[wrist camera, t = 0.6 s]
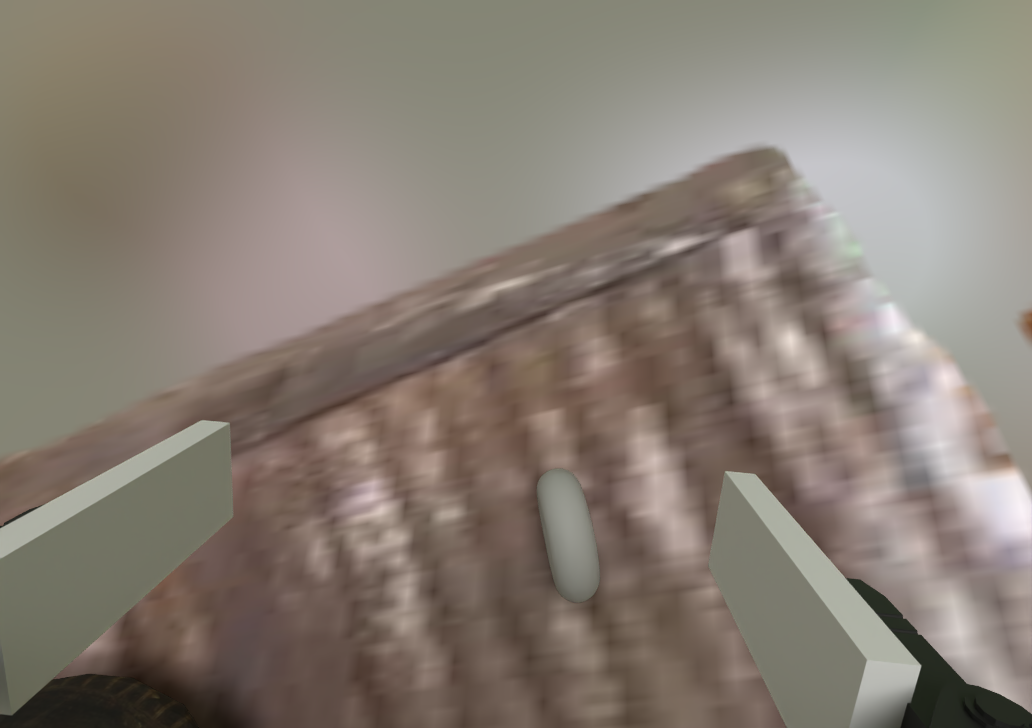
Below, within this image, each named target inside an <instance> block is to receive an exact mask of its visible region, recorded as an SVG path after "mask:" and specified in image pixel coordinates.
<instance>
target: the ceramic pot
mask: <svg viewBox="0 0 1032 728" xmlns="http://www.w3.org/2000/svg"><path fill="white" fill-rule="evenodd" d="M0 728H199V727H198V726H197V724H196V723H195V721H194V720H193V718H192V716H191V715H190V713H189V712H188V710H187V709H186V707H185V706H184V705H183V704H181V703H180V702H178V701H176V700H174V699H172V698H170V697H168V696H166V695H164V694H162V693H160V692H159V691H157V690H155V689H153V688H151V687H149V686H147V685H145V684H143V683H141V682H139V681H137V680H136V679H134V678H127V677H116V676H106V675H95V674H85V675H79V676H73V677H66V678H60V679H54V680H51V681H50V682H49V683H47V684H46V685H45V686H44V687H43V688H42V689H41V690H40V691H39V692H37V693H36V694H35V695H34V696H33V697H32V698H31V699H30V700H28V701H27V702H26V703H25V704H24V705H23V706H22V707H21V708H20V709H18V710H17V711H16V712H15V713H14V714H13V715H4V714H0Z"/></svg>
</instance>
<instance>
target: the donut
mask: <svg viewBox="0 0 1032 728" xmlns="http://www.w3.org/2000/svg"><path fill="white" fill-rule="evenodd" d="M537 500H538V506H539V513H540V518H541V524H542V529H543V535H544V540H545V545H546V550H547V555H548V559H549V564H550V568H551V572H552V576H553V580H554V583H555V586H556V589H557V591H558V592H559V593H560V595H561V596H562V597H563V598H565V599H566V600H568V601H571V602H574V603H578V602H584V601H586V600H588V599H590V598H591V597H592V596H593V595H594V593H595V592H596V590H597V588H598V586H599V581H600V568H599V559H598V552H597V546H596V540H595V535H594V530H593V526H592V521H591V517H590V513H589V510H588V506H587V503H586V499H585V496H584V493H583V491H582V488H581V485H580V483H579V481H578V480H577V478H576V477H575V476H574V474H572V473H571V472H569V471H568V470H565V469H553V470H550V471H547V472H546V473H545V474H543V475H542V476H541V478H540V479H539V481H538V484H537Z"/></svg>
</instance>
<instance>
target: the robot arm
mask: <svg viewBox="0 0 1032 728" xmlns="http://www.w3.org/2000/svg"><path fill="white" fill-rule="evenodd" d="M232 517H233V496H232V469H231V442H230V423H225V422H214V421H204V420H201V421H200V422H198V423H196V424H194V425H192V426H190V427H188V428H187V429H185V430H183V431H181V432H179V433H177V434H175V435H173V436H172V437H170V438H168V439H166V440H164V441H162V442H160V443H159V444H157V445H155V446H153V447H151V448H149V449H147V450H145V451H144V452H142V453H140V454H138V455H136V456H134V457H132V458H131V459H129V460H127V461H125V462H123V463H121V464H119V465H118V466H116V467H114V468H112V469H110V470H108V471H106V472H104V473H103V474H101V475H99V476H97V477H95V478H93V479H91V480H90V481H88V482H86V483H84V484H82V485H80V486H78V487H77V488H75V489H73V490H71V491H69V492H67V493H65V494H63V495H62V496H60V497H58V498H56V499H54V500H52V501H50V502H49V503H47V504H44V505H41V506H38V507H35V508H32V509H30V510H28V511H26V512H24V513H22V514H20V515H18V516H16V517H14V518H13V519H11V520H9V521H7V522H5V523H4V525H3V526H0V714H4V715H13V714H14V713H15V712H16V711H17V710H18V709H20V708H21V707H22V706H23V705H24V704H25V703H26V702H27V701H28V700H30V699H31V698H32V697H33V696H34V695H35V694H36V693H37V692H39V691H40V690H41V689H42V688H43V687H44V686H45V685H46V684H47V683H49V682H50V681H51V680H52V679H53V678H54V677H55V676H56V675H57V674H59V673H60V672H61V671H62V670H63V669H64V668H65V667H66V666H67V665H69V664H70V663H71V662H72V661H73V660H74V659H75V658H76V657H78V656H79V655H80V654H81V653H82V652H83V651H84V650H85V649H86V648H88V647H89V646H90V645H91V644H92V643H93V642H94V641H95V640H96V639H98V638H99V637H100V636H101V635H102V634H103V633H104V632H105V631H106V630H108V629H109V628H110V627H111V626H112V625H113V624H114V623H115V622H117V621H118V620H119V619H120V618H121V617H122V616H123V615H124V614H125V613H127V612H128V611H129V610H130V609H131V608H132V607H133V606H134V605H135V604H137V603H138V602H139V601H140V600H141V599H142V598H143V597H144V596H145V595H147V594H148V593H149V592H150V591H151V590H152V589H153V588H154V587H156V586H157V585H158V584H159V583H160V582H161V581H162V580H163V579H164V578H166V577H167V576H168V575H169V574H170V573H171V572H172V571H173V570H174V569H176V568H177V567H178V566H179V565H180V564H181V563H182V562H183V561H184V560H186V559H187V558H188V557H189V556H190V555H191V554H192V553H193V552H195V551H196V550H197V549H198V548H199V547H200V546H201V545H202V544H203V543H205V542H206V541H207V540H208V539H209V538H210V537H211V536H212V535H213V534H215V533H216V532H217V531H218V530H219V529H220V528H221V527H222V526H223V525H225V524H226V523H227V522H228V521H229V520H230V519H231V518H232ZM708 567H709V569H710V571H711V573H712V575H713V577H714V579H715V581H716V583H717V585H718V587H719V589H720V591H721V593H722V595H723V597H724V599H725V601H726V604H727V606H728V608H729V610H730V612H731V614H732V616H733V618H734V620H735V622H736V624H737V626H738V628H739V630H740V632H741V634H742V636H743V639H744V641H745V643H746V645H747V647H748V649H749V651H750V653H751V655H752V657H753V659H754V661H755V663H756V665H757V667H758V669H759V671H760V673H761V676H762V678H763V680H764V682H765V684H766V686H767V688H768V690H769V692H770V694H771V696H772V698H773V700H774V702H775V704H776V706H777V708H778V711H779V713H780V715H781V717H782V719H783V721H784V723H785V725H786V727H787V728H1032V714H1031V713H1029V712H1028V711H1027V710H1025V709H1024V708H1023V707H1022V706H1020V705H1018V704H1016V703H1014V702H1013V701H1011V700H1009V699H1007V698H1005V697H1004V696H1002V695H1000V694H997V693H995V692H992V691H990V690H987V689H984V688H982V687H979V686H975V685H969V684H966V682H965V681H964V680H963V679H962V678H961V677H960V676H959V675H958V674H957V673H956V672H955V671H954V670H953V669H952V667H951V666H950V665H949V664H948V663H947V662H946V661H945V660H944V659H943V658H942V657H941V656H940V655H939V654H938V653H937V651H936V650H935V649H934V648H933V647H932V646H931V645H930V644H929V643H928V642H927V641H926V640H925V639H924V638H923V636H922V635H918V633H917V630H916V629H915V628H914V627H913V626H912V625H911V624H910V623H909V621H908V620H907V619H903V615H902V614H901V613H900V612H899V611H898V610H897V609H896V608H895V606H894V605H893V604H892V603H891V602H890V601H889V600H888V599H887V598H886V597H885V596H884V595H882V594H881V593H879V592H878V591H876V590H875V589H873V588H872V587H870V586H869V585H867V584H866V583H864V582H863V581H861V580H859V579H849V578H845V577H844V576H843V575H842V574H841V573H840V572H839V570H838V569H837V568H836V567H835V566H834V565H833V563H832V562H831V561H830V560H829V559H828V558H827V557H826V555H825V554H824V553H823V552H822V551H821V550H820V548H819V547H818V546H817V545H816V544H815V543H814V542H813V540H812V539H811V538H810V537H809V536H808V535H807V534H806V532H805V531H804V530H803V529H802V528H801V527H800V525H799V524H798V523H797V522H796V521H795V520H794V519H793V517H792V516H791V515H790V514H789V513H788V512H787V510H786V509H785V508H784V507H783V506H782V505H781V504H780V502H779V501H778V500H777V499H776V498H775V497H774V495H773V494H772V493H771V492H770V491H769V490H768V489H767V487H766V486H765V485H764V484H763V483H762V482H761V481H760V479H759V478H758V477H757V476H756V475H755V474H749V473H739V472H728V471H725V474H724V480H723V486H722V491H721V497H720V502H719V508H718V513H717V519H716V525H715V530H714V536H713V541H712V547H711V552H710V558H709V564H708Z"/></svg>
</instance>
